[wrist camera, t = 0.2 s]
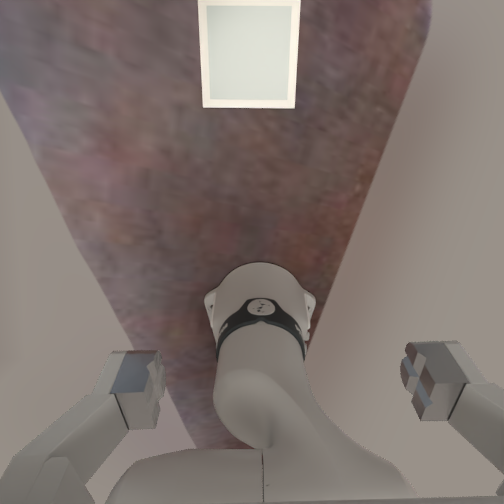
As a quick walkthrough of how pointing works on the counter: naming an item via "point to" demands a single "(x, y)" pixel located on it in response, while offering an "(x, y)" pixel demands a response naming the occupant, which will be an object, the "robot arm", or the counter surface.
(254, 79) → the tile
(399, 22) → the counter surface
